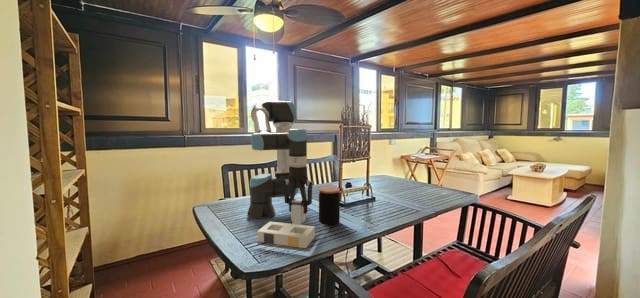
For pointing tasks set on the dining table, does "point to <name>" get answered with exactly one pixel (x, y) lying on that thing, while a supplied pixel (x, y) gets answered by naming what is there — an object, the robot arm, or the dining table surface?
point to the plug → (297, 211)
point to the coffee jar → (329, 205)
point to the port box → (286, 234)
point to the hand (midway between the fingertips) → (298, 219)
